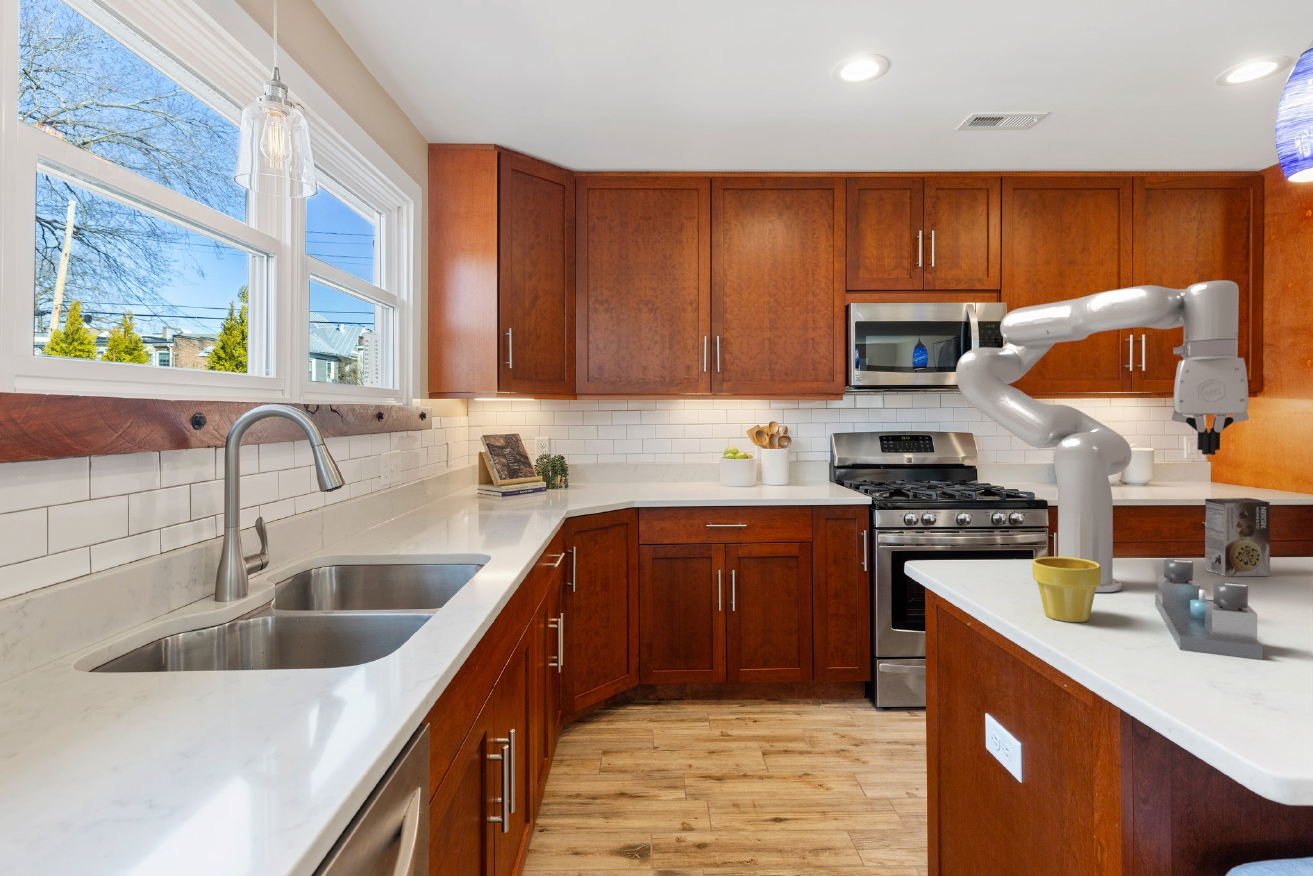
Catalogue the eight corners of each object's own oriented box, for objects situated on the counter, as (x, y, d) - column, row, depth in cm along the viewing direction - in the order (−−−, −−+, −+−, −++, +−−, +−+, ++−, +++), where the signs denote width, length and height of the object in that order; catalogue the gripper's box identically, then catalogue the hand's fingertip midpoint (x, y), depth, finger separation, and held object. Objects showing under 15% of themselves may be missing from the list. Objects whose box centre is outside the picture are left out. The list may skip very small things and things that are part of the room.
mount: (1179, 649, 102) (1180, 610, 102) (1155, 605, 124) (1155, 573, 124) (1262, 659, 97) (1262, 618, 97) (1221, 611, 120) (1221, 578, 119)
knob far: (1165, 602, 118) (1166, 562, 118) (1162, 596, 121) (1162, 557, 121) (1194, 605, 116) (1195, 564, 116) (1190, 599, 119) (1190, 559, 119)
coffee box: (1247, 569, 149) (1248, 497, 148) (1271, 576, 143) (1272, 501, 142) (1203, 569, 150) (1203, 497, 149) (1224, 576, 144) (1225, 501, 143)
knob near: (1216, 632, 102) (1216, 585, 102) (1210, 625, 105) (1210, 580, 105) (1250, 636, 100) (1251, 588, 100) (1243, 628, 103) (1244, 582, 103)
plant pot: (1019, 613, 121) (1018, 559, 121) (1058, 605, 125) (1058, 553, 125) (1074, 629, 112) (1074, 571, 111) (1114, 621, 116) (1115, 564, 116)
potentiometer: (1192, 618, 110) (1192, 591, 110) (1188, 613, 113) (1188, 586, 113) (1215, 620, 109) (1215, 593, 108) (1211, 615, 111) (1211, 588, 111)
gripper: (1159, 353, 121) (1158, 454, 122) (1270, 347, 113) (1268, 456, 114) (1156, 355, 127) (1155, 452, 128) (1261, 350, 119) (1259, 453, 120)
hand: (1208, 454), depth 121 cm, fingers closed
